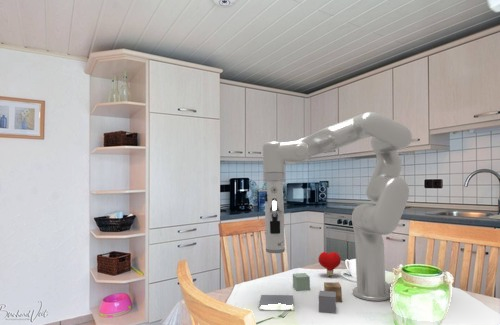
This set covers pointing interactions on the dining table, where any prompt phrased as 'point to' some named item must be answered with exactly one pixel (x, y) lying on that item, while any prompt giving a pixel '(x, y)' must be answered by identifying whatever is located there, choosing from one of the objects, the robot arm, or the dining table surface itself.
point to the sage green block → (301, 282)
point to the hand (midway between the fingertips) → (275, 231)
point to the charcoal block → (327, 302)
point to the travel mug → (274, 240)
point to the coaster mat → (276, 299)
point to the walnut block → (334, 289)
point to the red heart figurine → (329, 261)
